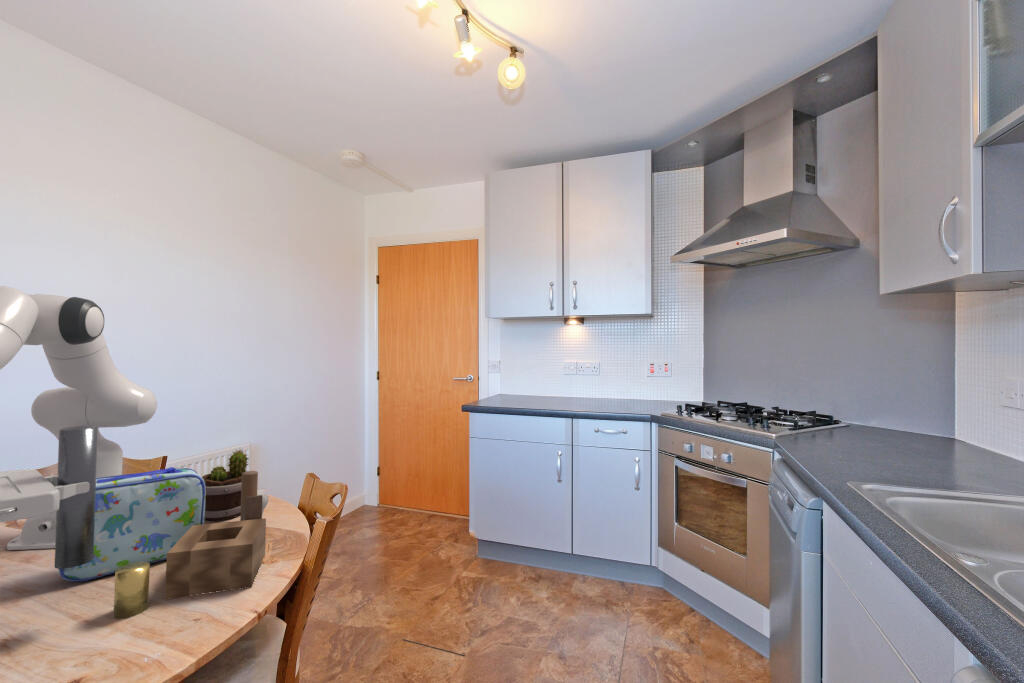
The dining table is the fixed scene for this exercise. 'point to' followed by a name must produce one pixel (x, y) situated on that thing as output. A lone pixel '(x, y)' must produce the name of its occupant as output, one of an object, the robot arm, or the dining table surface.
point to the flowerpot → (225, 489)
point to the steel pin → (76, 497)
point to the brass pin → (131, 589)
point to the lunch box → (141, 518)
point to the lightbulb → (265, 498)
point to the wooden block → (250, 497)
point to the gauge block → (215, 558)
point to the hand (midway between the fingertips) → (83, 482)
